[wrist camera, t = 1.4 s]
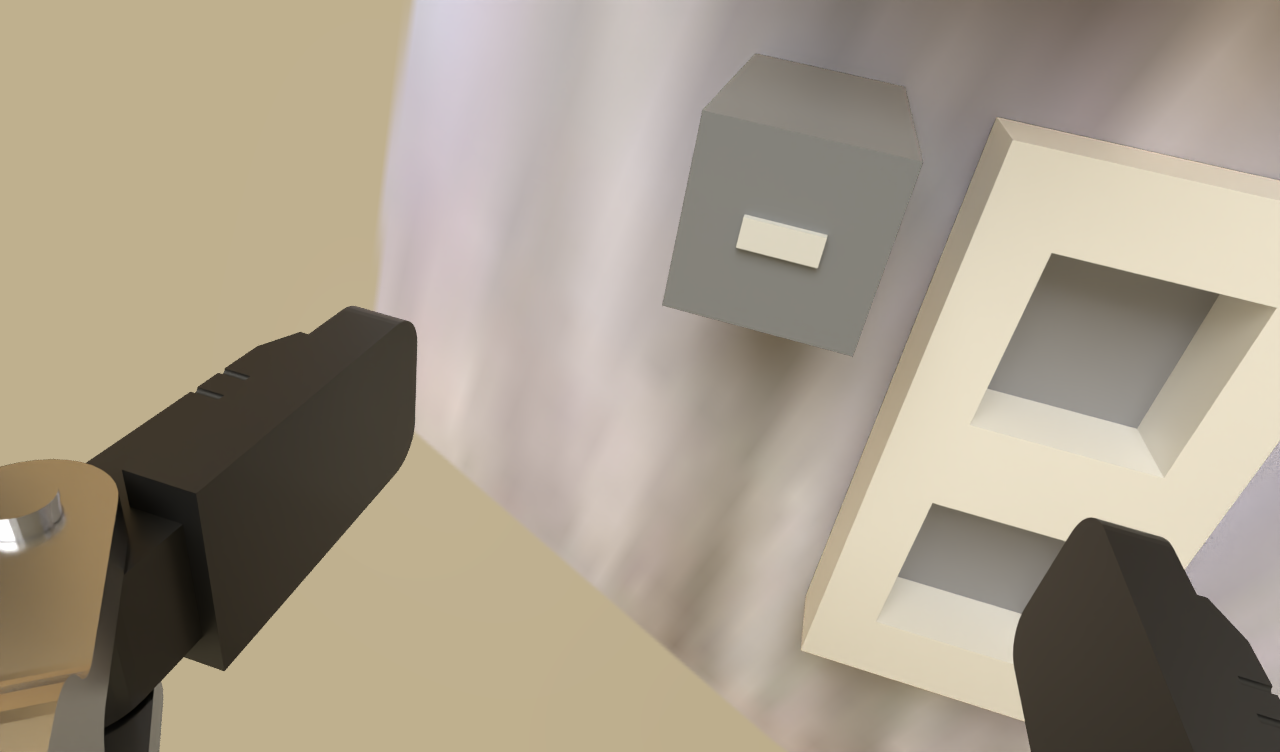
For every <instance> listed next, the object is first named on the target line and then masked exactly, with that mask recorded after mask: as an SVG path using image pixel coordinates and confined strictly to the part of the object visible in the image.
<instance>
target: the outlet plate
mask: <svg viewBox="0 0 1280 752" xmlns="http://www.w3.org/2000/svg"><path fill="white" fill-rule="evenodd" d="M1279 441H1280V181H1279V180H1275V179H1270V178H1266V177H1261V176H1257V175H1252V174H1248V173H1244V172H1239V171H1235V170H1230V169H1226V168H1221V167H1217V166H1212V165H1208V164H1204V163H1199V162H1195V161H1190V160H1186V159H1181V158H1177V157H1172V156H1168V155H1163V154H1159V153H1155V152H1150V151H1146V150H1141V149H1137V148H1132V147H1128V146H1123V145H1119V144H1115V143H1110V142H1106V141H1101V140H1097V139H1092V138H1088V137H1083V136H1079V135H1075V134H1070V133H1066V132H1061V131H1057V130H1052V129H1048V128H1043V127H1039V126H1035V125H1030V124H1026V123H1021V122H1017V121H1012V120H1008V119H1003V118H999V117H996V120H995V122H994V125H993V127H992V130H991V132H990V135H989V137H988V140H987V142H986V145H985V148H984V150H983V153H982V155H981V158H980V160H979V163H978V165H977V168H976V170H975V173H974V175H973V178H972V180H971V183H970V185H969V188H968V190H967V193H966V195H965V198H964V200H963V203H962V205H961V208H960V210H959V213H958V215H957V218H956V220H955V223H954V225H953V228H952V230H951V233H950V235H949V238H948V240H947V243H946V245H945V248H944V250H943V253H942V255H941V258H940V260H939V263H938V265H937V268H936V270H935V273H934V275H933V278H932V280H931V283H930V285H929V288H928V290H927V293H926V295H925V298H924V301H923V303H922V306H921V308H920V311H919V313H918V316H917V318H916V321H915V323H914V326H913V328H912V331H911V333H910V336H909V338H908V341H907V343H906V346H905V348H904V351H903V353H902V356H901V358H900V361H899V363H898V366H897V368H896V371H895V373H894V376H893V378H892V381H891V383H890V386H889V388H888V391H887V393H886V396H885V398H884V401H883V403H882V406H881V408H880V411H879V413H878V416H877V418H876V421H875V423H874V426H873V428H872V431H871V433H870V436H869V438H868V441H867V443H866V446H865V448H864V451H863V453H862V456H861V459H860V461H859V464H858V466H857V469H856V471H855V474H854V476H853V479H852V481H851V484H850V486H849V489H848V491H847V494H846V496H845V499H844V501H843V504H842V506H841V509H840V511H839V514H838V516H837V519H836V521H835V524H834V526H833V529H832V531H831V534H830V536H829V539H828V541H827V544H826V546H825V549H824V551H823V554H822V556H821V559H820V561H819V564H818V566H817V569H816V571H815V574H814V576H813V579H812V581H811V584H810V586H809V589H808V591H807V594H806V599H805V610H804V621H803V632H802V642H801V651H804V652H807V653H811V654H814V655H817V656H820V657H823V658H826V659H830V660H833V661H836V662H839V663H842V664H845V665H848V666H852V667H855V668H858V669H861V670H864V671H867V672H870V673H874V674H877V675H880V676H883V677H886V678H889V679H893V680H896V681H899V682H902V683H905V684H908V685H911V686H915V687H918V688H921V689H924V690H927V691H930V692H934V693H937V694H940V695H943V696H946V697H949V698H952V699H956V700H959V701H962V702H965V703H968V704H971V705H974V706H978V707H981V708H984V709H987V710H990V711H993V712H997V713H1000V714H1003V715H1006V716H1009V717H1012V718H1015V719H1019V720H1022V721H1025V719H1024V714H1023V710H1022V705H1021V700H1020V695H1019V690H1018V685H1017V680H1016V675H1015V670H1014V664H1013V644H1014V637H1015V632H1016V628H1017V625H1018V622H1019V619H1020V616H1021V614H1022V612H1023V610H1024V608H1025V607H1026V605H1027V603H1028V602H1029V600H1030V599H1031V597H1032V595H1033V594H1034V592H1035V591H1036V589H1037V587H1038V586H1039V584H1040V582H1041V581H1042V579H1043V578H1044V576H1045V574H1046V573H1047V571H1048V569H1049V568H1050V566H1051V565H1052V563H1053V561H1054V560H1055V558H1056V557H1057V555H1058V553H1059V552H1060V550H1061V548H1062V547H1063V545H1064V544H1065V542H1066V540H1067V539H1068V537H1069V535H1070V534H1071V532H1072V531H1073V529H1074V528H1075V527H1076V526H1077V525H1078V524H1079V523H1080V522H1081V521H1082V520H1084V519H1086V518H1090V517H1092V518H1097V519H1100V520H1104V521H1107V522H1111V523H1114V524H1118V525H1122V526H1125V527H1129V528H1132V529H1136V530H1139V531H1143V532H1146V533H1150V534H1153V535H1157V536H1160V537H1163V538H1165V539H1167V540H1168V541H1169V542H1170V543H1171V545H1172V547H1173V548H1174V550H1175V552H1176V554H1177V556H1178V558H1179V560H1180V562H1181V564H1182V566H1183V568H1184V570H1185V568H1186V567H1187V566H1188V564H1189V563H1190V561H1191V560H1192V559H1193V557H1194V556H1195V555H1196V553H1197V552H1198V551H1199V549H1200V548H1201V547H1202V545H1203V544H1204V543H1205V541H1206V540H1207V538H1208V537H1209V536H1210V534H1211V533H1212V532H1213V530H1214V529H1215V528H1216V526H1217V525H1218V524H1219V522H1220V521H1221V520H1222V518H1223V517H1224V515H1225V514H1226V513H1227V511H1228V510H1229V509H1230V507H1231V506H1232V505H1233V503H1234V502H1235V501H1236V499H1237V498H1238V497H1239V495H1240V494H1241V492H1242V491H1243V490H1244V488H1245V487H1246V486H1247V484H1248V483H1249V482H1250V480H1251V479H1252V478H1253V476H1254V475H1255V473H1256V472H1257V471H1258V469H1259V468H1260V467H1261V465H1262V464H1263V463H1264V461H1265V460H1266V459H1267V457H1268V456H1269V455H1270V453H1271V452H1272V450H1273V449H1274V448H1275V446H1276V445H1277V444H1278V442H1279Z"/></svg>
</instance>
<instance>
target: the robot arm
mask: <svg viewBox="0 0 1280 752" xmlns="http://www.w3.org/2000/svg"><path fill="white" fill-rule="evenodd" d="M416 365H417V334H416V330H415V327H414V325H413V324H412V323H411V322H409V321H406V320H402V319H399V318H395V317H392V316H388V315H385V314H381V313H378V312H374V311H370V310H367V309H364V308H360V307H356V306H350V307H346V308H345V309H343V310H342V311H340V312H339V313H337V314H336V315H335V316H333V317H332V318H331V319H329V320H328V321H326V322H325V323H324V324H322V325H321V326H319V327H318V328H317V329H315V330H314V331H313V332H311V333H310V334H305V333H302V332H299V333H296V334H293V335H290V336H287V337H284V338H281V339H278V340H275V341H272V342H269V343H266V344H263V345H260V346H257V347H256V348H254V349H253V350H251V351H250V352H248V353H247V354H245V355H244V356H242V357H241V358H239V359H238V360H237V361H235V362H234V363H232V364H231V365H229V366H228V367H226V368H225V371H224V373H223V374H220V373H217V374H216V375H214V376H213V377H212V378H210V379H209V380H207V381H206V382H205V383H203V384H202V385H200V386H198V388H197V391H196V393H193V392H189V393H188V394H187V395H185V396H184V397H182V398H181V399H179V400H178V401H176V402H175V403H173V404H172V405H170V406H169V407H167V408H166V409H165V410H163V411H162V412H160V413H159V414H157V415H156V416H154V417H153V418H151V419H150V420H148V421H147V422H145V423H144V424H143V425H141V426H140V427H138V428H137V429H135V430H134V431H132V432H131V433H129V434H128V435H126V436H125V437H123V438H122V439H121V440H119V441H117V442H116V443H115V444H113V445H112V446H110V447H109V448H107V449H106V450H104V451H103V452H102V453H100V454H98V455H97V456H95V457H94V458H93V459H91V460H90V461H88V462H87V463H82V462H78V461H71V460H60V459H46V460H33V461H25V462H18V463H14V464H9V465H5V466H1V467H0V752H159V747H160V735H161V721H162V708H163V688H162V683H161V681H162V679H163V678H164V677H165V676H166V675H167V674H168V673H169V672H170V671H171V670H172V669H173V668H174V667H175V666H176V665H177V663H178V662H179V661H180V660H181V659H182V658H183V657H185V658H188V659H191V660H194V661H197V662H200V663H202V664H205V665H208V666H211V667H214V668H217V669H219V670H222V671H225V670H226V669H227V668H228V666H229V665H230V664H231V663H232V662H233V661H234V659H235V658H236V657H237V656H238V655H239V654H240V653H241V651H242V650H243V649H244V648H245V647H246V646H247V644H248V643H249V642H250V641H251V640H252V639H253V637H254V636H255V635H256V634H257V633H258V632H259V631H260V629H261V628H262V627H263V626H264V625H265V624H266V623H267V621H268V620H269V619H270V618H271V617H272V616H273V614H274V613H275V612H276V611H277V610H278V609H279V608H280V606H281V605H282V604H283V603H284V602H285V601H286V600H287V598H288V597H289V596H290V595H291V594H292V593H293V591H294V590H295V589H296V588H297V587H298V586H299V584H300V583H301V582H302V581H303V580H304V579H305V578H306V576H307V575H308V574H309V573H310V572H311V571H312V570H313V568H314V567H315V566H316V565H317V564H318V563H319V562H320V560H321V559H322V558H323V557H324V556H325V555H326V553H327V552H328V551H329V550H330V549H331V548H332V547H333V545H334V544H335V543H336V542H337V541H338V540H339V538H340V537H341V536H342V535H343V534H344V533H345V531H346V530H347V529H348V528H349V527H350V526H351V525H352V523H353V522H354V521H355V520H356V519H357V518H358V516H359V515H360V514H361V513H362V512H363V510H365V508H366V507H367V506H368V505H369V504H370V503H371V502H372V500H373V499H374V498H375V497H376V496H377V495H378V493H379V492H380V491H381V490H382V489H383V488H384V487H385V485H386V484H387V483H388V482H389V481H390V479H391V478H392V477H393V476H394V475H395V474H396V473H397V471H398V470H399V468H400V467H401V465H402V463H403V462H404V460H405V458H406V456H407V453H408V451H409V448H410V445H411V442H412V438H413V434H414V427H415V400H416ZM1013 664H1014V670H1015V675H1016V680H1017V685H1018V690H1019V695H1020V700H1021V705H1022V710H1023V714H1024V719H1025V724H1026V729H1027V734H1028V739H1029V744H1030V749H1031V752H1280V699H1279V697H1278V695H1274V694H1271V688H1272V684H1271V683H1270V681H1269V679H1268V677H1267V675H1266V673H1265V671H1264V670H1263V668H1262V666H1261V664H1260V662H1259V660H1258V659H1257V657H1256V655H1255V653H1254V651H1253V649H1252V647H1251V646H1250V644H1249V642H1248V641H1247V640H1246V639H1245V637H1244V636H1243V635H1242V634H1241V633H1240V632H1239V631H1238V630H1237V629H1236V628H1235V627H1234V626H1233V625H1232V624H1231V623H1230V621H1229V620H1228V619H1227V618H1226V617H1225V616H1224V615H1223V614H1222V613H1221V612H1220V611H1219V610H1218V609H1217V608H1216V607H1215V606H1214V604H1213V603H1212V602H1211V601H1210V600H1209V599H1208V598H1206V597H1202V596H1199V595H1197V594H1196V592H1195V590H1194V588H1193V586H1192V584H1191V582H1190V580H1189V578H1188V576H1187V574H1186V572H1185V570H1184V568H1183V566H1182V564H1181V562H1180V560H1179V558H1178V556H1177V554H1176V552H1175V550H1174V548H1173V547H1172V545H1171V543H1170V542H1169V541H1168V540H1167V539H1165V538H1163V537H1160V536H1157V535H1153V534H1150V533H1146V532H1143V531H1139V530H1136V529H1132V528H1129V527H1125V526H1122V525H1118V524H1114V523H1111V522H1107V521H1104V520H1100V519H1097V518H1092V517H1090V518H1086V519H1084V520H1082V521H1081V522H1080V523H1079V524H1078V525H1077V526H1076V527H1075V528H1074V529H1073V531H1072V532H1071V534H1070V535H1069V537H1068V539H1067V540H1066V542H1065V544H1064V545H1063V547H1062V548H1061V550H1060V552H1059V553H1058V555H1057V557H1056V558H1055V560H1054V561H1053V563H1052V565H1051V566H1050V568H1049V569H1048V571H1047V573H1046V574H1045V576H1044V578H1043V579H1042V581H1041V582H1040V584H1039V586H1038V587H1037V589H1036V591H1035V592H1034V594H1033V595H1032V597H1031V599H1030V600H1029V602H1028V603H1027V605H1026V607H1025V608H1024V610H1023V612H1022V614H1021V616H1020V619H1019V622H1018V625H1017V628H1016V632H1015V637H1014V644H1013Z"/></svg>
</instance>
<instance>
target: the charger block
mask: <svg viewBox="0 0 1280 752" xmlns="http://www.w3.org/2000/svg"><path fill="white" fill-rule="evenodd" d="M922 164H923V159H922V155H921V151H920V147H919V143H918V139H917V134H916V130H915V126H914V122H913V118H912V114H911V109H910V105H909V101H908V97H907V93H906V89H905V87H904V86H899V85H895V84H890V83H886V82H881V81H877V80H873V79H868V78H864V77H859V76H855V75H850V74H846V73H841V72H837V71H832V70H828V69H823V68H819V67H814V66H810V65H805V64H801V63H796V62H792V61H788V60H783V59H779V58H774V57H770V56H765V55H761V54H755V55H754V56H753V57H752V58H751V59H750V60H749V61H748V62H747V63H746V64H745V65H744V66H743V67H742V68H741V70H740V71H739V72H738V73H737V74H736V75H735V76H734V77H733V78H732V79H731V80H730V81H729V82H728V83H727V85H726V86H725V87H724V88H723V89H722V90H721V91H720V92H719V93H718V94H717V95H716V96H715V97H714V98H713V99H712V101H711V102H710V103H709V104H708V105H707V106H706V107H705V108H704V109H703V110H702V115H701V120H700V125H699V130H698V134H697V139H696V144H695V149H694V154H693V159H692V164H691V168H690V173H689V178H688V183H687V188H686V193H685V197H684V202H683V207H682V212H681V217H680V222H679V227H678V231H677V236H676V241H675V246H674V251H673V256H672V261H671V265H670V270H669V275H668V280H667V285H666V290H665V294H664V299H663V304H662V305H663V306H666V307H670V308H674V309H678V310H681V311H685V312H689V313H692V314H696V315H700V316H704V317H707V318H711V319H715V320H718V321H722V322H726V323H730V324H733V325H737V326H741V327H745V328H748V329H752V330H756V331H759V332H763V333H767V334H771V335H774V336H778V337H782V338H785V339H789V340H793V341H797V342H800V343H804V344H808V345H812V346H815V347H819V348H823V349H826V350H830V351H834V352H838V353H841V354H845V355H849V356H852V357H853V355H854V352H855V349H856V346H857V344H858V341H859V338H860V335H861V333H862V330H863V327H864V324H865V321H866V319H867V316H868V313H869V310H870V308H871V305H872V302H873V299H874V297H875V294H876V291H877V288H878V286H879V283H880V280H881V277H882V274H883V272H884V269H885V266H886V263H887V261H888V258H889V255H890V252H891V250H892V247H893V244H894V241H895V238H896V236H897V233H898V230H899V227H900V225H901V222H902V219H903V216H904V214H905V211H906V208H907V205H908V203H909V200H910V197H911V194H912V191H913V189H914V186H915V183H916V180H917V178H918V175H919V172H920V169H921V167H922Z"/></svg>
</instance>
